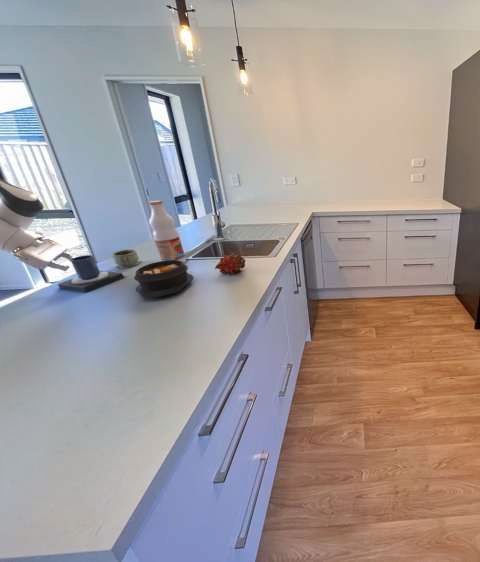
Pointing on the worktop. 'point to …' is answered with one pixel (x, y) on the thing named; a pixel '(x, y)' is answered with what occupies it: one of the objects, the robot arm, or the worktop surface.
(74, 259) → the dark blue cup
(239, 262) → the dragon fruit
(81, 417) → the worktop surface
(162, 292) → the casserole
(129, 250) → the vessel
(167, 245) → the fruit juice
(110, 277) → the scale
